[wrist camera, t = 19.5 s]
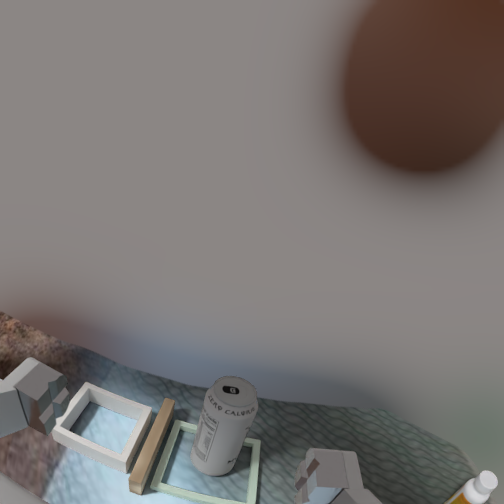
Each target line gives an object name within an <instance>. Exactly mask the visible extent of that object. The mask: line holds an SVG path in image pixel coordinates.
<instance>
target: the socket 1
mask: <svg viewBox="0 0 504 504" xmlns="http://www.w3.org/2000/svg"><path fill="white" fill-rule="evenodd" d="M90 401H91V402H93V403H95V404H98V405H100V406H102V407H105V408H107V409H109V410H112V411H114V412H117V413H119V414H122V415H124V416H127V417H129V418H132V419H135V420H137V423H136V425H135V427H134V429H133V431H132V433H131V435H130V437H129V439H128V441H127V443H126V445H125V447H124V449H123V451H122V453H121V454H119V453H116V452H114V451H112V450H109V449H107V448H105V447H102V446H100V445H98V444H95V443H93V442H91V441H89V440H87V439H85V438H83V437H80V436H78V435H76V434H74V433H72V432H70V431H69V430H70V428H71V427H72V425H73V424H74V423H75V421H76V420H77V418H78V417H79V416H80V414H81V413H82V411H83V410H84V409H85V407H86V406H87V404H88V403H89V402H90ZM151 416H152V407H149V406H146V405H143V404H140V403H137V402H135V401H132V400H129V399H127V398H124V397H122V396H119V395H116V394H114V393H112V392H109V391H107V390H104V389H102V388H99V387H97V386H95V385H93V384H90V383H88V382H85V383H84V385H83V386H82V387H81V388H80V390H79V391H78V392H77V393H76V395H75V396H74V397H73V399H72V400H71V401H70V402H69V406H68V408H67V411H66V412H65V414H64V415H63V416H62V417H59V418H57V419H56V426H55V427H54V428H53V430H52V431H51V432H52V435H53V438H54V440H55V441H57V442H58V443H60V444H62V445H64V446H66V447H68V448H70V449H72V450H74V451H76V452H78V453H80V454H82V455H84V456H86V457H88V458H90V459H92V460H95V461H97V462H99V463H101V464H104V465H106V466H108V467H111V468H113V469H116V470H118V471H120V472H123V473H126V474H127V472H128V469H129V467H130V465H131V463H132V461H133V459H134V456H135V454H136V452H137V450H138V448H139V445H140V443H141V441H142V439H143V437H144V435H145V433H146V430H147V428H148V426H149V424H150V422H151Z"/></svg>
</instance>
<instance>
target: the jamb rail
mask: <svg viewBox="0 0 504 504" xmlns="http://www.w3.org/2000/svg"><path fill="white" fill-rule="evenodd" d="M174 405H175V400H172V399H169V398H165V400H164V402H163V404H162V406H161V408H160V411H159V413H158V415H157V417H156V419H155V422H154V424H153V426H152V428H151V430H150V433H149V435H148V437H147V439H146V441H145V444H144V446H143V448H142V450H141V453H140V455H139V457H138V459H137V461H136V464H135V466H134V468H133V470H132V473H131V475H130V477H129V489H130V492H133V493H136V494H138V495H142V492H143V490H144V487H145V485H146V482H147V479H148V477H149V474H150V472H151V469H152V467H153V464H154V462H155V459H156V457H157V454H158V451H159V449H160V446H161V444H162V441H163V439H164V436H165V434H166V431H167V429H168V426H169V424H170V421H171V419H172V416H173V411H174Z"/></svg>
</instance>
